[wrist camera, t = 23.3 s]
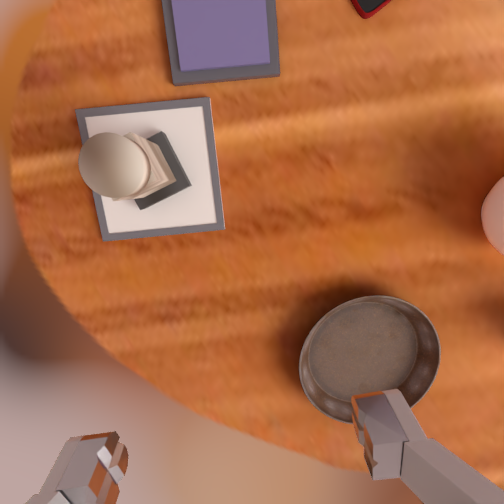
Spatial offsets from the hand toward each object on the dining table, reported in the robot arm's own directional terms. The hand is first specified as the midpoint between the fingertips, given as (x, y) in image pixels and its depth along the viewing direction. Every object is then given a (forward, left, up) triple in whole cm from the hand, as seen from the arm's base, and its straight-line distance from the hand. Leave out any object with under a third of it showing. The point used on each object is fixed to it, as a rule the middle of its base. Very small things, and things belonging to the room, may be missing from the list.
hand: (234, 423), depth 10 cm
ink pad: (-1, -24, -26) cm, 35 cm away
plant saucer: (-15, +15, -26) cm, 33 cm away
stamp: (+8, -10, -25) cm, 28 cm away
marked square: (+8, -10, -26) cm, 29 cm away
